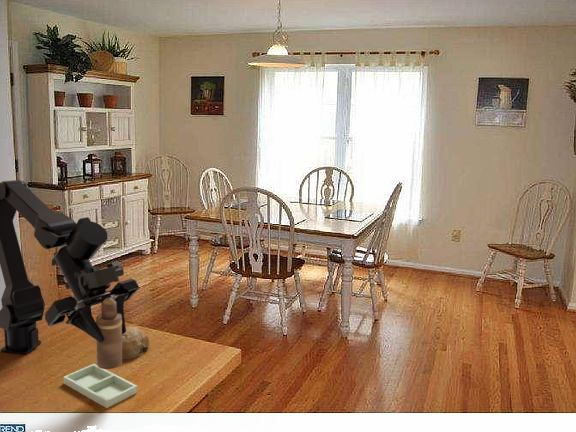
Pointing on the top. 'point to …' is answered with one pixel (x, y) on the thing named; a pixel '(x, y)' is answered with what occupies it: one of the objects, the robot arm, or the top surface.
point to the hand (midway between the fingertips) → (113, 337)
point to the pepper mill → (109, 336)
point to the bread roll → (134, 342)
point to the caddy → (100, 385)
